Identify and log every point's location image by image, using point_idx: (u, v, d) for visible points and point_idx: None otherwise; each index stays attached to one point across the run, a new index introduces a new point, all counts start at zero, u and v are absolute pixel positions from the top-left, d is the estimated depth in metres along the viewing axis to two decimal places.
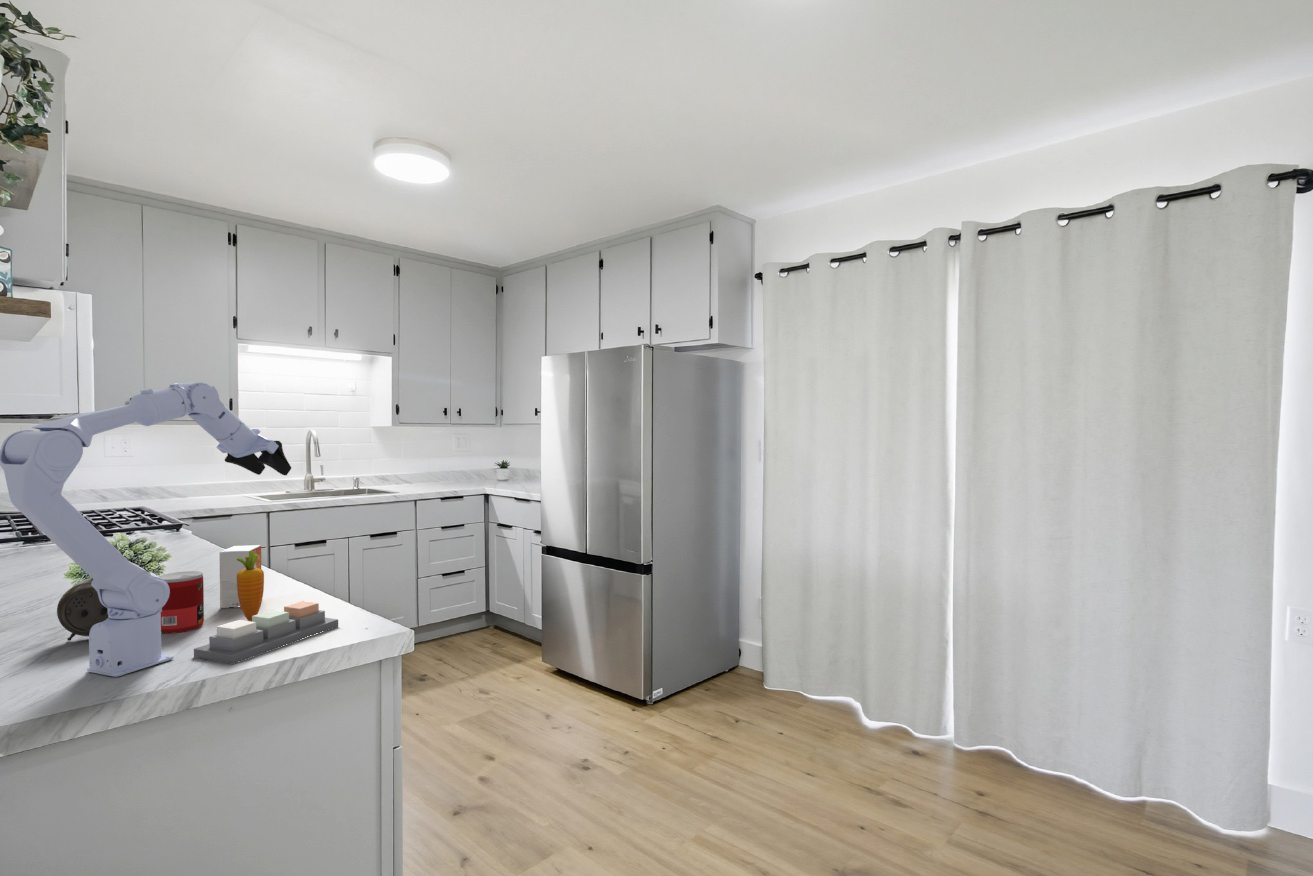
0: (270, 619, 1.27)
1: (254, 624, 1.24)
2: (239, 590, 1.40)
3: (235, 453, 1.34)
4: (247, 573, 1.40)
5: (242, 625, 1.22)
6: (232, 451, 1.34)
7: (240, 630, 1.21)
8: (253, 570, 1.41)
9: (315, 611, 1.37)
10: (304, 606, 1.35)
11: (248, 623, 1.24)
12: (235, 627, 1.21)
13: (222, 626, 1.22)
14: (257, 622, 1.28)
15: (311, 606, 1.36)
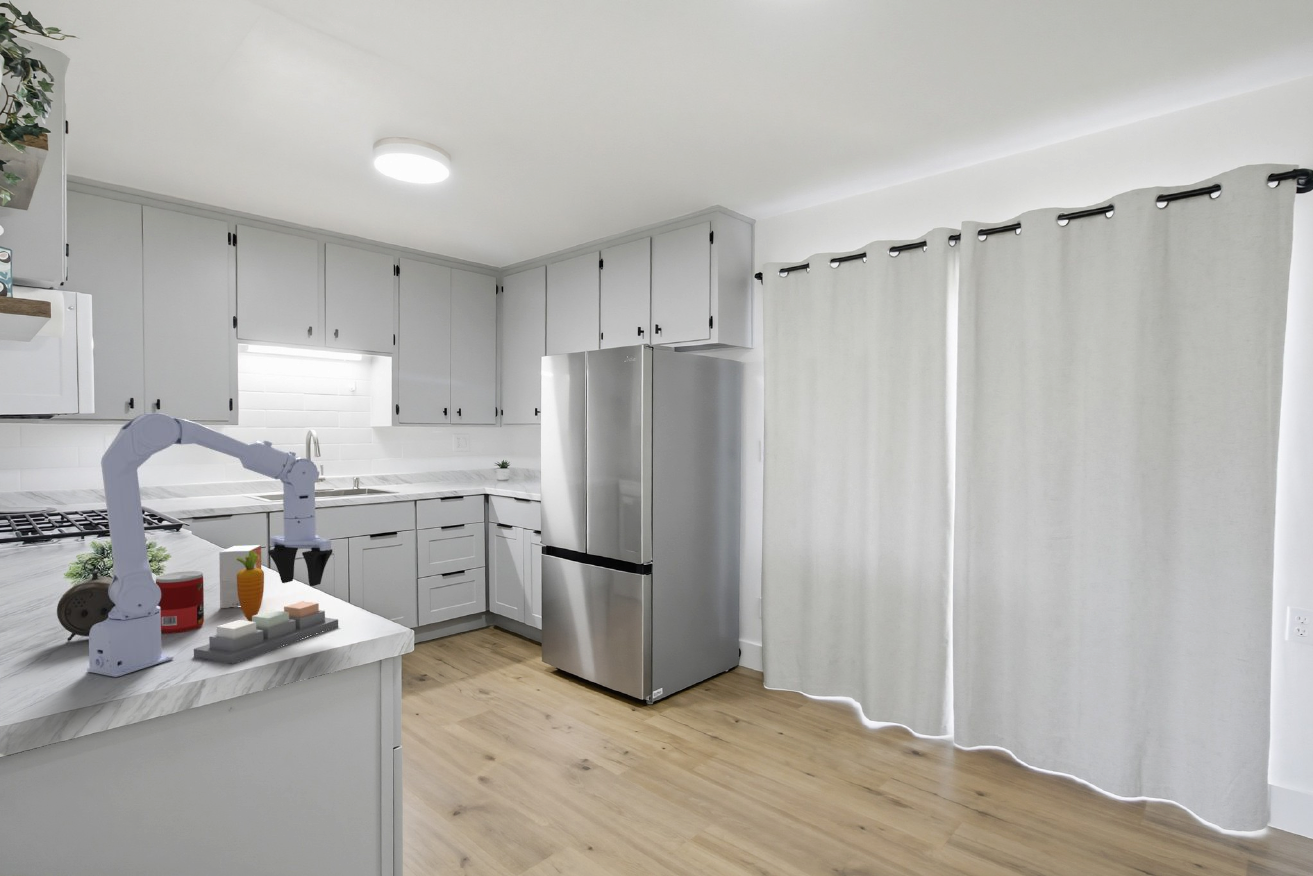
0: (270, 619, 1.27)
1: (254, 624, 1.24)
2: (240, 590, 1.40)
3: (289, 539, 1.33)
4: (247, 573, 1.40)
5: (242, 625, 1.22)
6: (288, 536, 1.33)
7: (240, 630, 1.21)
8: (253, 570, 1.41)
9: (315, 611, 1.37)
10: (304, 606, 1.35)
11: (248, 623, 1.24)
12: (235, 627, 1.21)
13: (222, 626, 1.22)
14: (257, 622, 1.28)
15: (311, 606, 1.36)
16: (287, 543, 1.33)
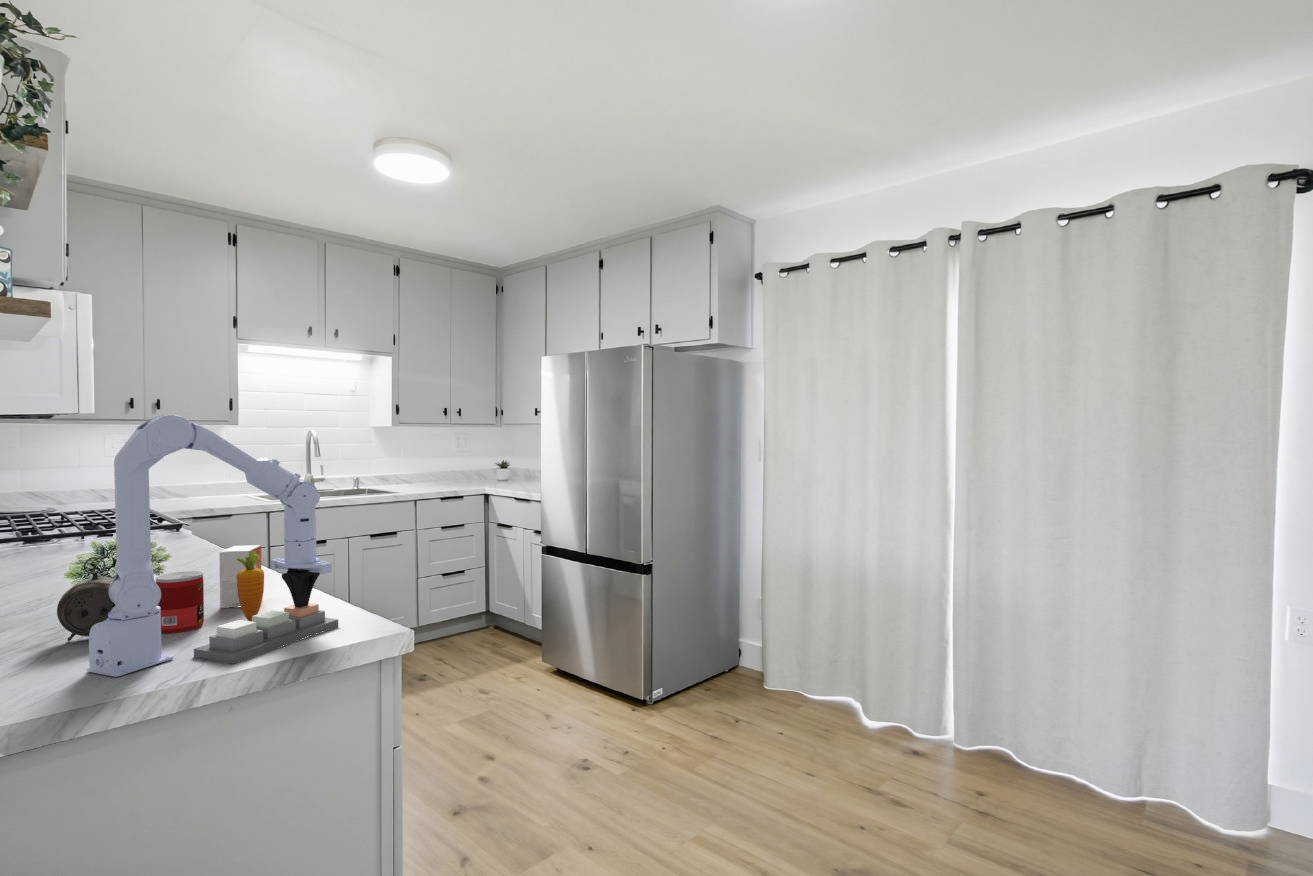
0: (270, 619, 1.27)
1: (254, 624, 1.24)
2: (240, 590, 1.40)
3: (290, 562, 1.33)
4: (248, 573, 1.40)
5: (242, 625, 1.22)
6: (289, 559, 1.33)
7: (240, 630, 1.21)
8: (253, 570, 1.41)
9: (315, 612, 1.37)
10: (304, 607, 1.35)
11: (248, 623, 1.24)
12: (235, 627, 1.21)
13: (222, 626, 1.22)
14: (257, 622, 1.28)
15: (311, 607, 1.36)
16: (288, 566, 1.33)
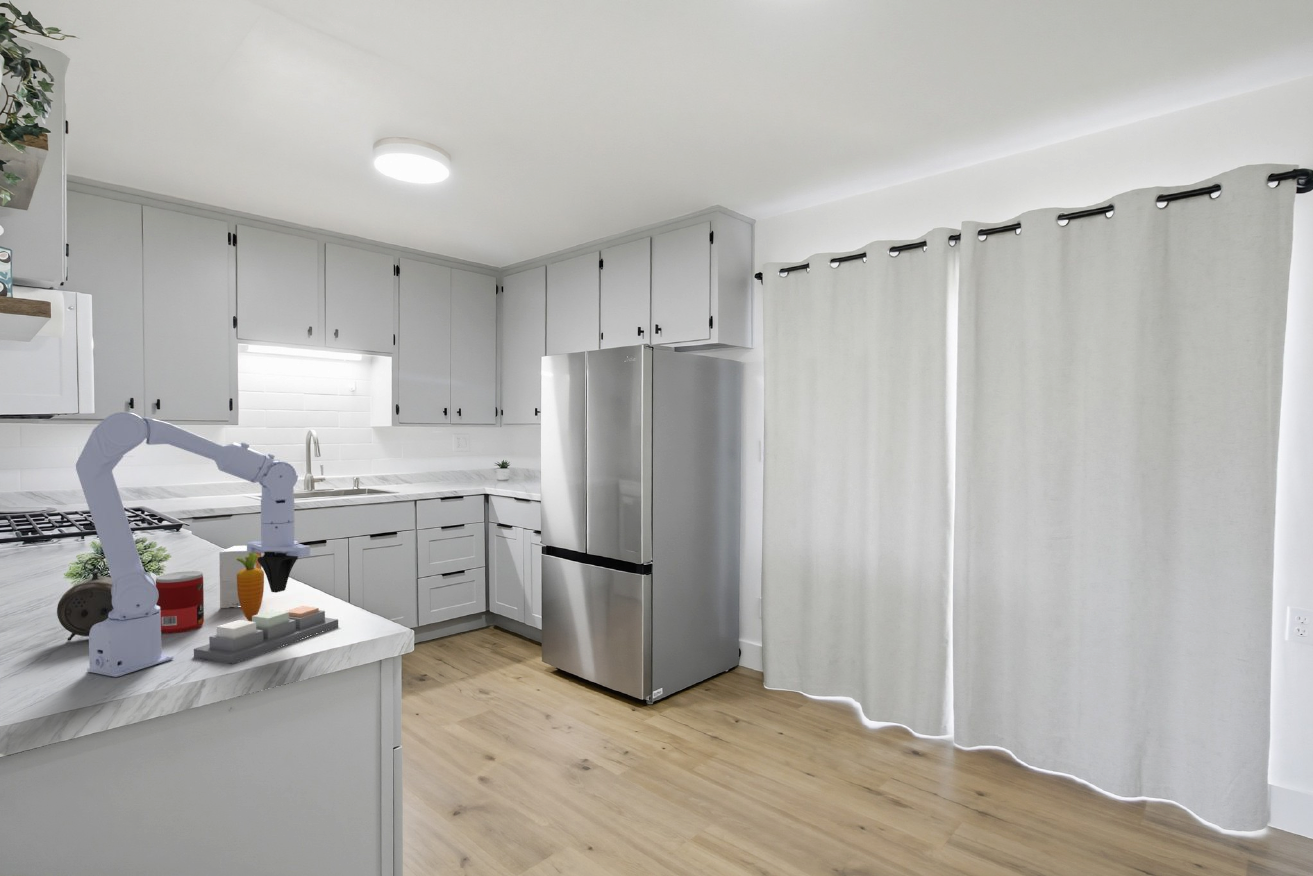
0: (270, 619, 1.27)
1: (254, 624, 1.24)
2: (240, 590, 1.40)
3: (266, 545, 1.28)
4: (247, 573, 1.40)
5: (242, 625, 1.22)
6: (265, 541, 1.28)
7: (240, 630, 1.21)
8: (253, 570, 1.41)
9: None
10: (304, 611, 1.35)
11: (248, 623, 1.24)
12: (235, 627, 1.21)
13: (222, 626, 1.22)
14: (257, 622, 1.28)
15: (311, 611, 1.36)
16: (264, 549, 1.28)
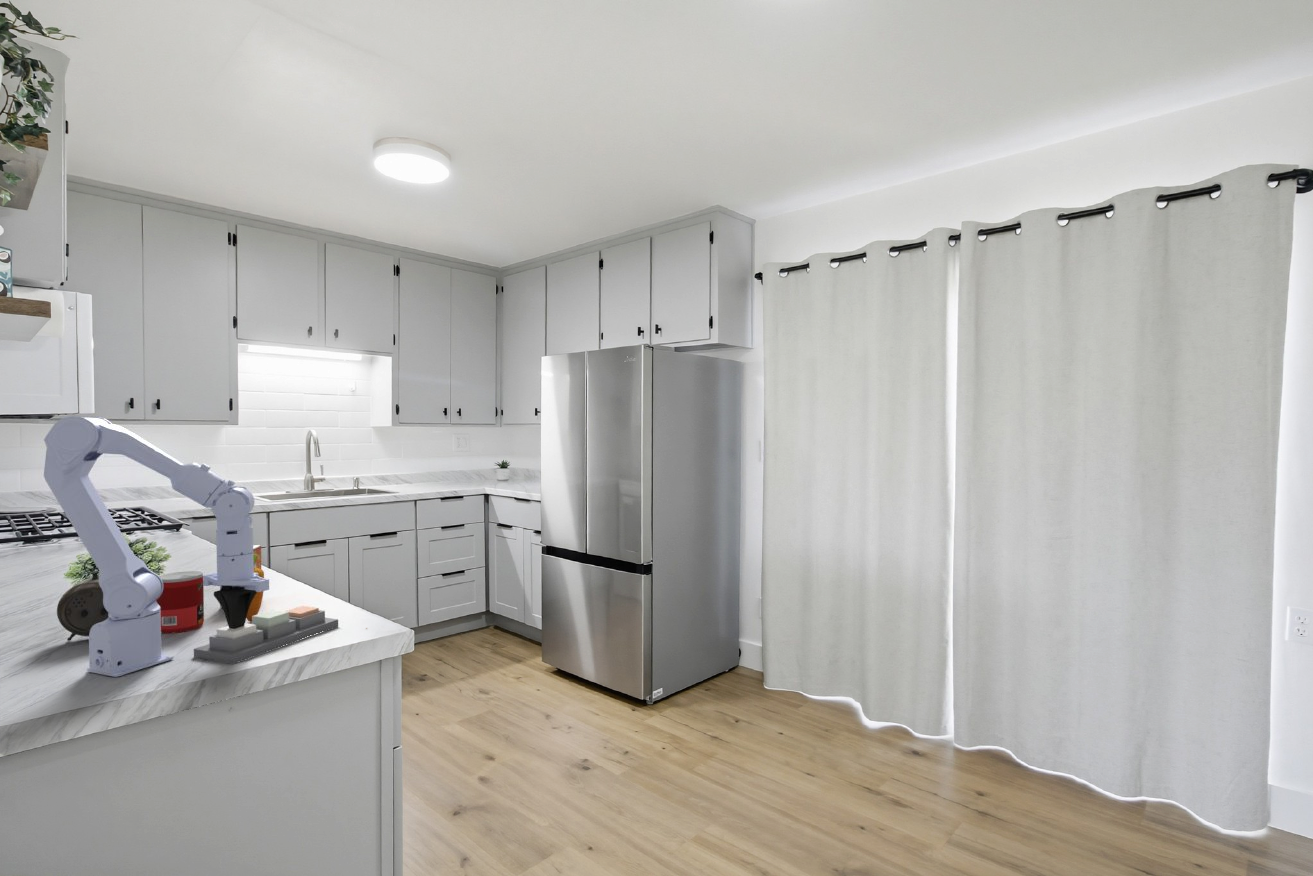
0: (270, 619, 1.27)
1: (254, 627, 1.24)
2: None
3: (222, 579, 1.20)
4: None
5: (242, 628, 1.22)
6: (221, 575, 1.20)
7: (240, 633, 1.21)
8: None
9: None
10: (304, 611, 1.35)
11: (248, 626, 1.24)
12: (235, 630, 1.21)
13: (222, 629, 1.22)
14: (257, 622, 1.28)
15: (311, 611, 1.36)
16: (220, 583, 1.20)
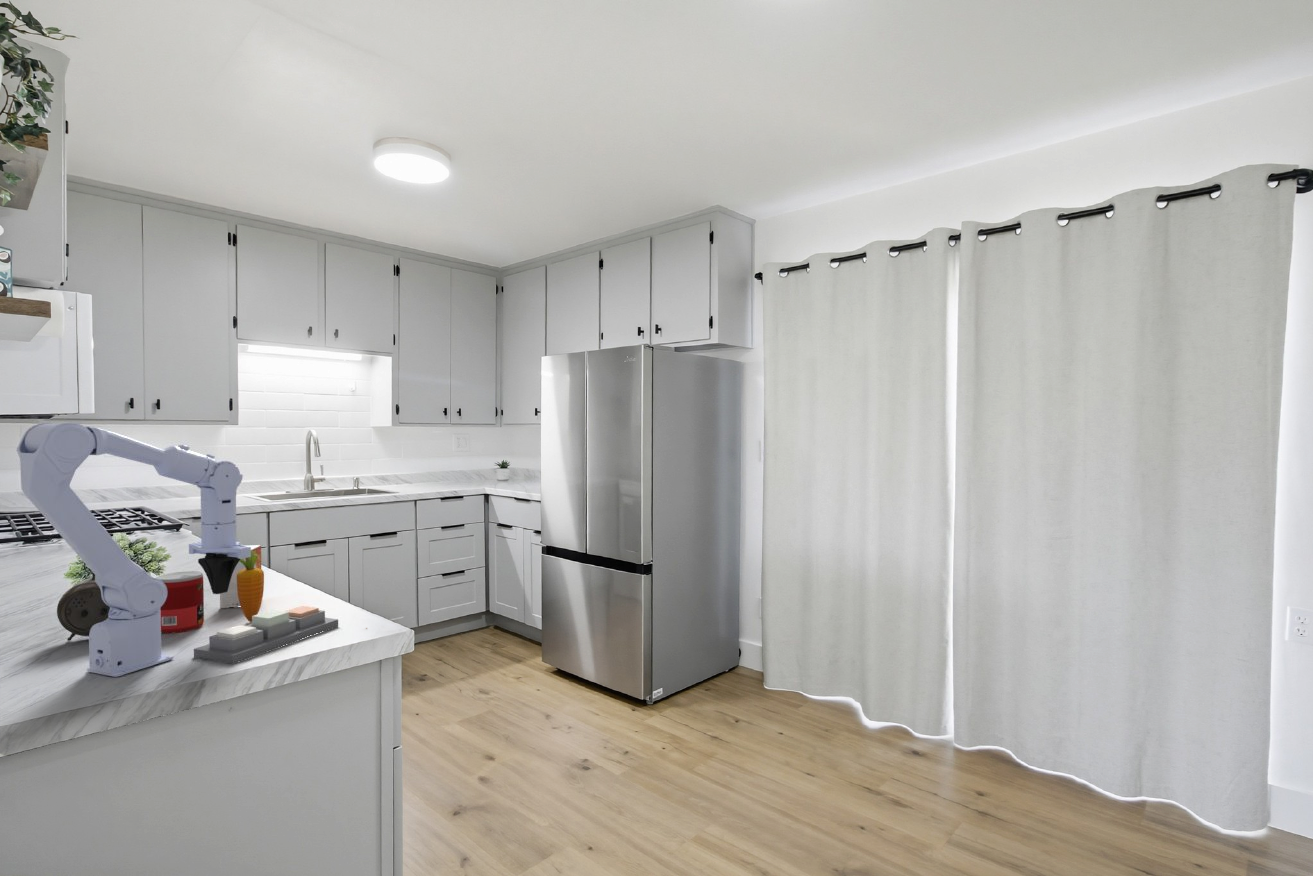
0: (270, 619, 1.27)
1: (254, 629, 1.24)
2: (239, 590, 1.40)
3: (206, 546, 1.27)
4: (247, 573, 1.40)
5: (242, 630, 1.22)
6: (205, 543, 1.27)
7: (240, 636, 1.21)
8: (253, 570, 1.41)
9: None
10: (304, 611, 1.35)
11: (248, 628, 1.24)
12: (235, 633, 1.21)
13: (222, 631, 1.22)
14: (257, 622, 1.28)
15: (311, 611, 1.36)
16: (204, 550, 1.26)
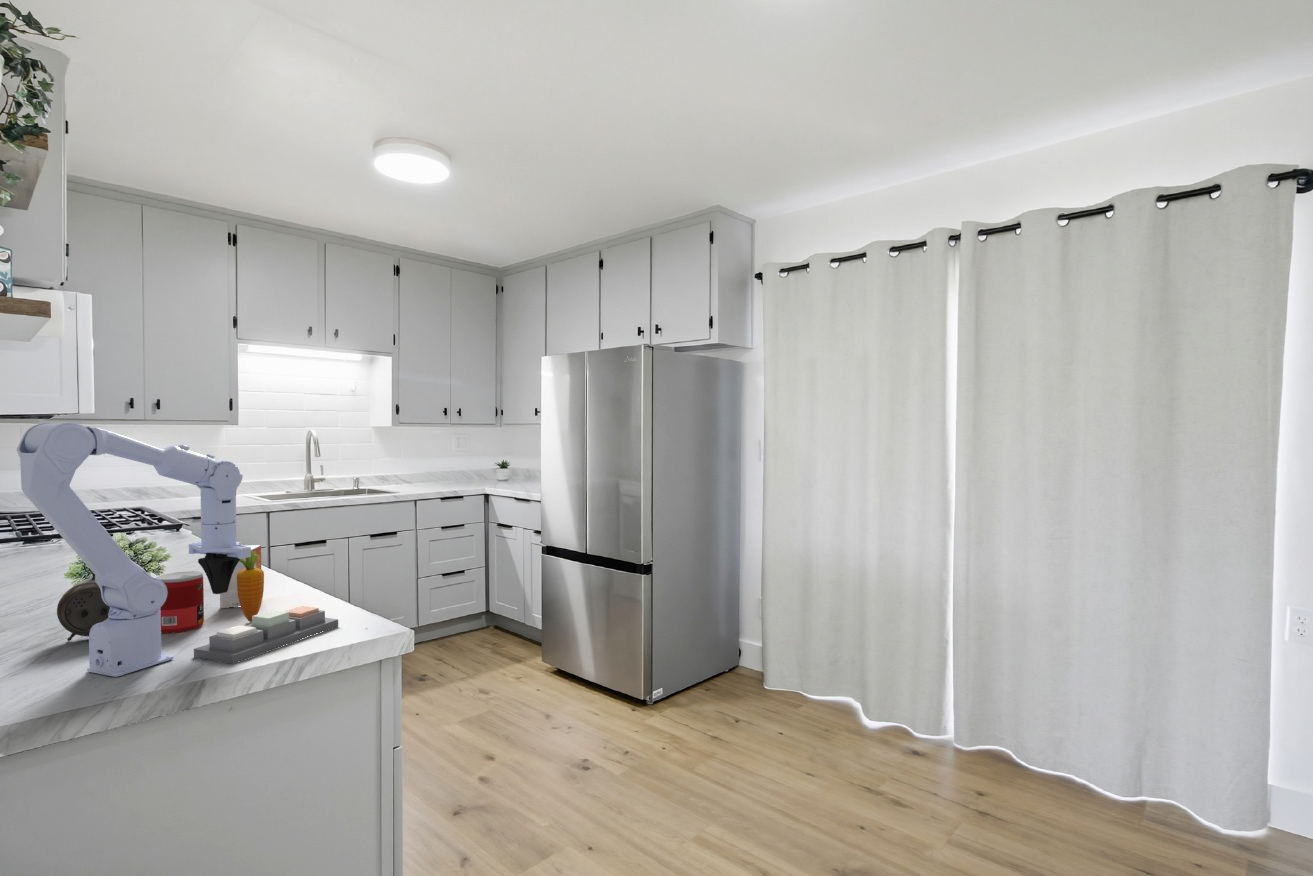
0: (270, 619, 1.27)
1: (254, 629, 1.24)
2: (239, 590, 1.40)
3: (206, 546, 1.27)
4: (247, 573, 1.40)
5: (242, 630, 1.22)
6: (205, 543, 1.27)
7: (240, 636, 1.21)
8: (253, 570, 1.41)
9: None
10: (304, 611, 1.35)
11: (248, 628, 1.24)
12: (235, 633, 1.21)
13: (222, 631, 1.22)
14: (257, 622, 1.28)
15: (311, 611, 1.36)
16: (204, 550, 1.26)
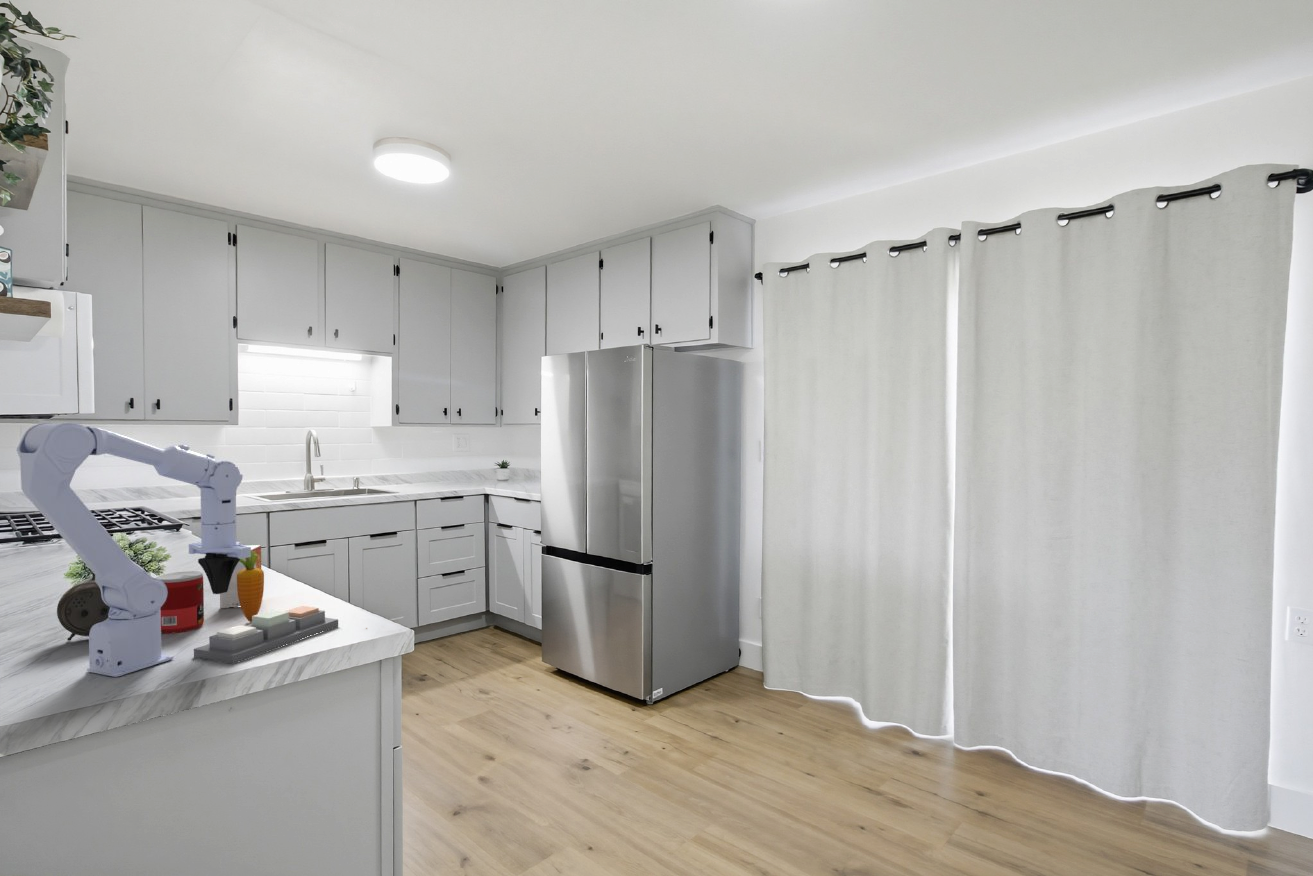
0: (270, 619, 1.27)
1: (254, 629, 1.24)
2: (239, 590, 1.40)
3: (206, 546, 1.27)
4: (247, 573, 1.40)
5: (242, 630, 1.22)
6: (205, 543, 1.27)
7: (240, 636, 1.21)
8: (253, 570, 1.41)
9: None
10: (304, 611, 1.35)
11: (248, 628, 1.24)
12: (235, 633, 1.21)
13: (222, 631, 1.22)
14: (257, 622, 1.28)
15: (311, 611, 1.36)
16: (204, 550, 1.26)
